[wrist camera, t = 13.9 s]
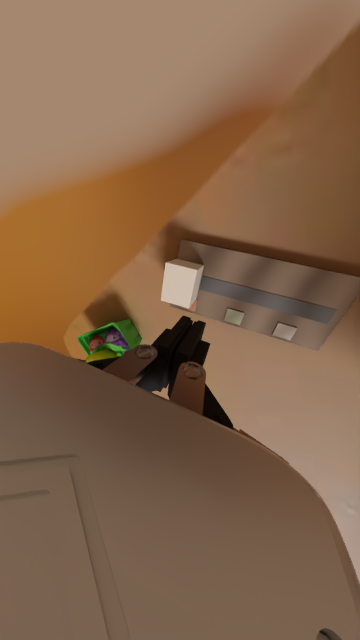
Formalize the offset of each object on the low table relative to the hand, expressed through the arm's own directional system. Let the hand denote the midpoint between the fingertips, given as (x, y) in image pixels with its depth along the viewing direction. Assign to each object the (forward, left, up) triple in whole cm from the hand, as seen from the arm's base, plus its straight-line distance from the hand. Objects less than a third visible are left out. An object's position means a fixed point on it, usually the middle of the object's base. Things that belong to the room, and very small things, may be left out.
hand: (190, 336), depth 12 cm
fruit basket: (+16, +16, -16) cm, 28 cm away
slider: (+4, 0, -14) cm, 14 cm away
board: (-5, 0, -16) cm, 16 cm away
